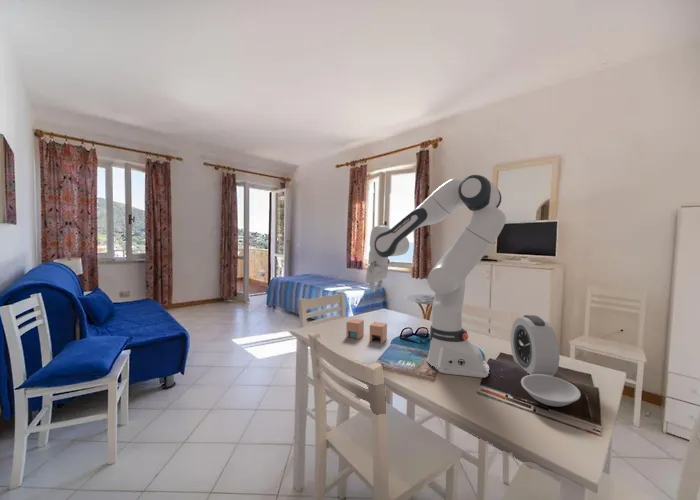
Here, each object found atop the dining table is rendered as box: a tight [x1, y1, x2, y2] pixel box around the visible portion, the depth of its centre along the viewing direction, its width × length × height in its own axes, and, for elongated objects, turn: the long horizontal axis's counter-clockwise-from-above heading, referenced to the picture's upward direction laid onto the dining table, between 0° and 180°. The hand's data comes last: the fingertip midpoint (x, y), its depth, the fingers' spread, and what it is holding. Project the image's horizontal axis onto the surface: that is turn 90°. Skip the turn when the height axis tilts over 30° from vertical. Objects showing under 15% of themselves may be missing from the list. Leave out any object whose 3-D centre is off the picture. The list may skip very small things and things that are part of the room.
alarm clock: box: [510, 314, 560, 377], centre depth 109 cm, size 21×8×20 cm, turn 172°
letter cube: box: [349, 331, 357, 339], centre depth 142 cm, size 4×4×4 cm
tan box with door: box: [345, 318, 365, 340], centre depth 142 cm, size 6×6×8 cm
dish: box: [520, 374, 582, 408], centre depth 86 cm, size 18×14×5 cm
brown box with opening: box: [369, 321, 388, 344], centre depth 137 cm, size 6×6×8 cm
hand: (375, 290), depth 135 cm, fingers open, 8 cm apart
